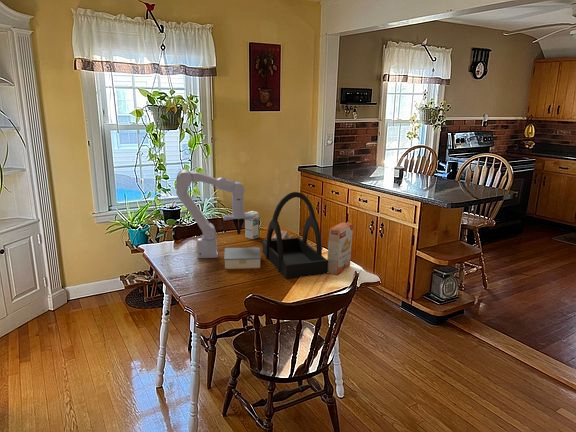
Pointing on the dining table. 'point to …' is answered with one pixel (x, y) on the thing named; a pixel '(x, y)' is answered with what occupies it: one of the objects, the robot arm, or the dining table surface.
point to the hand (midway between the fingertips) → (238, 233)
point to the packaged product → (283, 234)
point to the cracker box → (339, 247)
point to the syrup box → (252, 225)
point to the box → (242, 264)
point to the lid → (242, 253)
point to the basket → (295, 246)
